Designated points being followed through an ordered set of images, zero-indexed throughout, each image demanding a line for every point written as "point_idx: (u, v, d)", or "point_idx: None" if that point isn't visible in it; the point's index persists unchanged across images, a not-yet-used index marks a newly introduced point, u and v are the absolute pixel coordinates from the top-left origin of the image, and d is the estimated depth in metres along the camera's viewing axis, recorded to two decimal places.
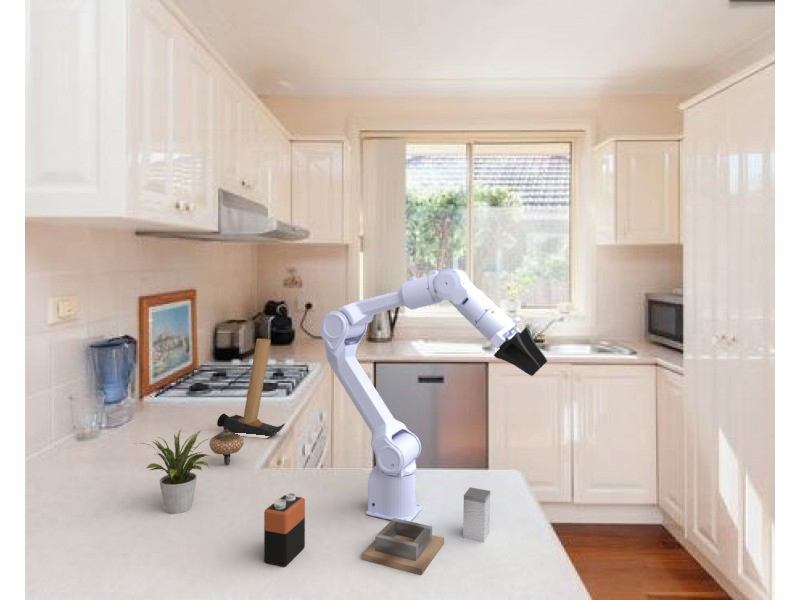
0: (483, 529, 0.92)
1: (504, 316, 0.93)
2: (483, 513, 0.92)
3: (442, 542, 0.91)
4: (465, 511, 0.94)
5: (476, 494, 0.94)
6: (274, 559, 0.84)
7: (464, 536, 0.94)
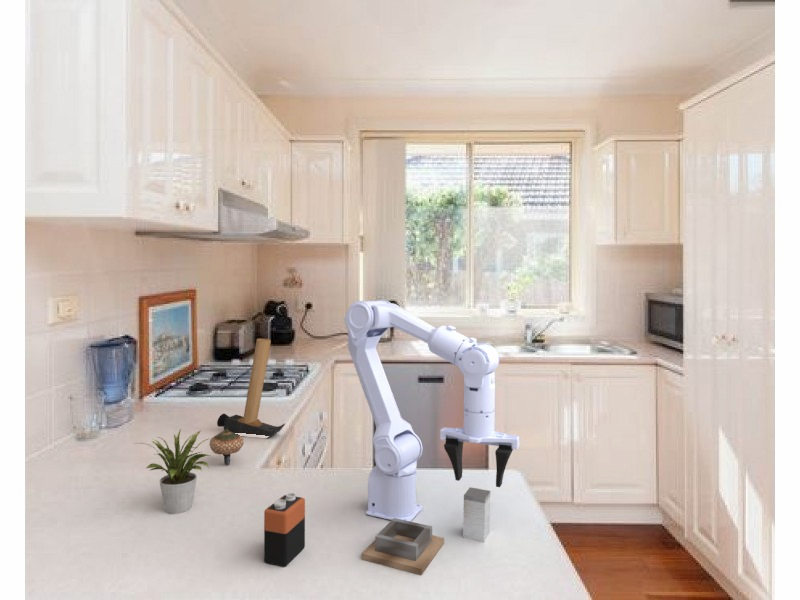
0: (483, 529, 0.92)
1: (470, 427, 0.92)
2: (483, 513, 0.92)
3: (442, 542, 0.91)
4: (465, 511, 0.94)
5: (476, 494, 0.94)
6: (274, 559, 0.84)
7: (464, 536, 0.94)
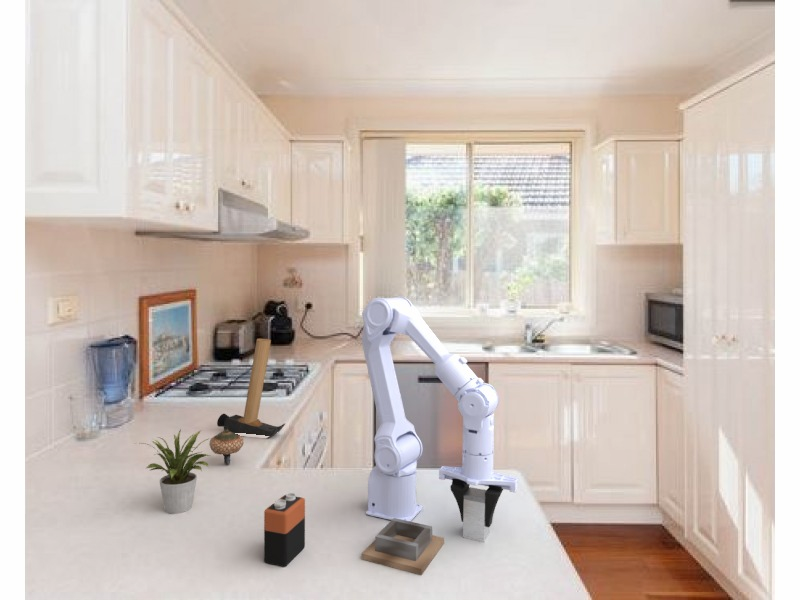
0: (483, 529, 0.92)
1: (468, 468, 0.92)
2: (483, 513, 0.92)
3: (442, 542, 0.91)
4: (465, 510, 0.94)
5: (476, 494, 0.94)
6: (274, 559, 0.84)
7: (464, 536, 0.94)
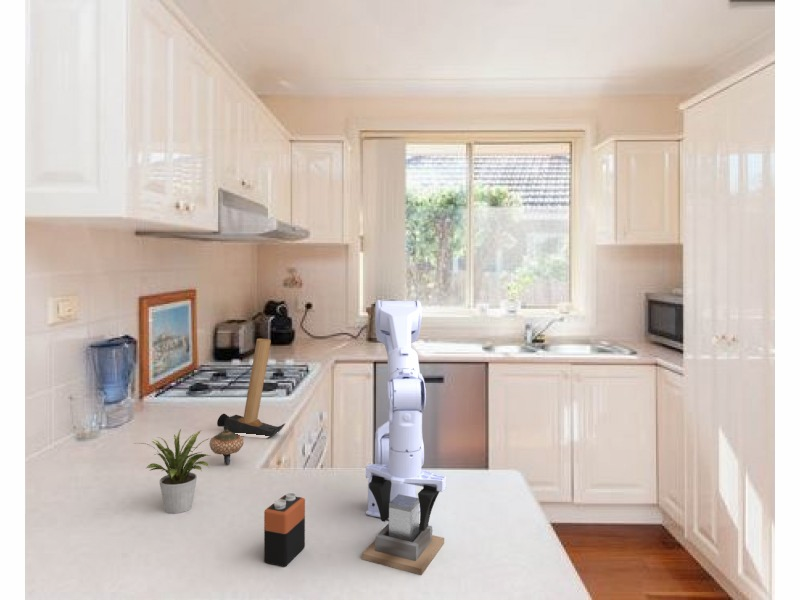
0: (409, 539, 0.86)
1: (393, 466, 0.86)
2: (409, 522, 0.86)
3: (442, 542, 0.91)
4: (390, 519, 0.88)
5: (403, 502, 0.88)
6: (274, 559, 0.84)
7: None
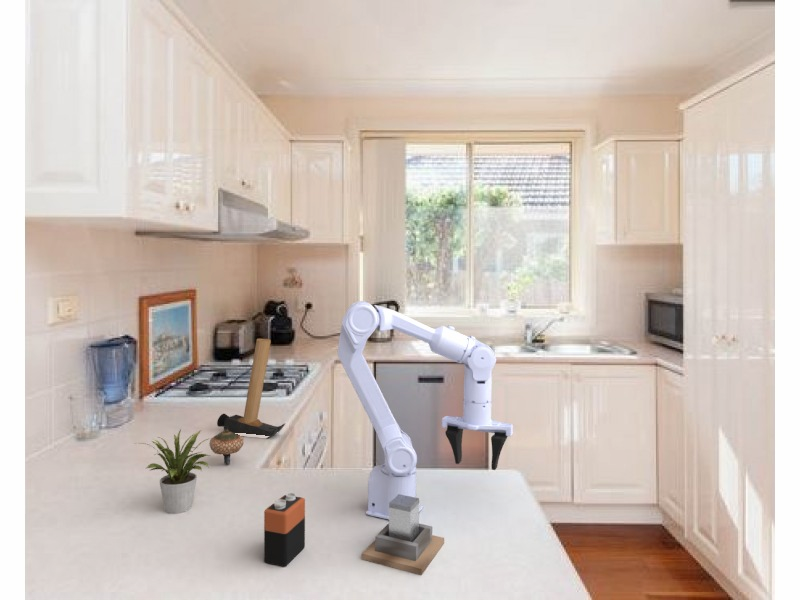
0: (409, 539, 0.86)
1: (468, 415, 1.03)
2: (409, 522, 0.86)
3: (442, 542, 0.91)
4: (390, 519, 0.88)
5: (403, 502, 0.88)
6: (274, 559, 0.84)
7: None
